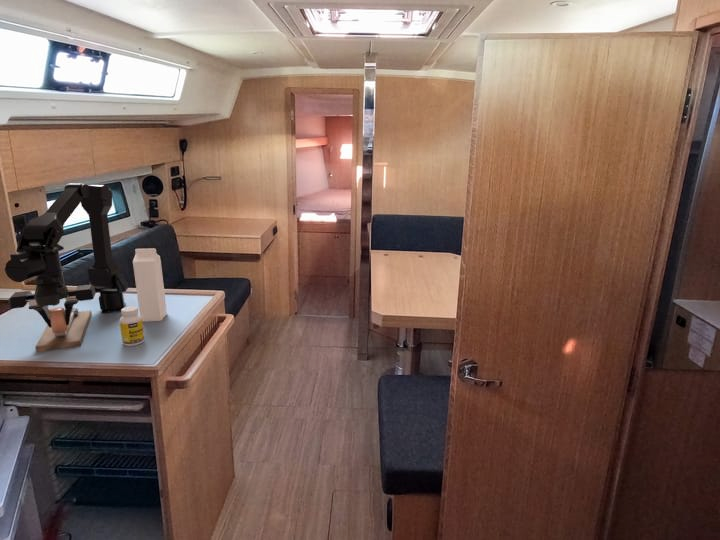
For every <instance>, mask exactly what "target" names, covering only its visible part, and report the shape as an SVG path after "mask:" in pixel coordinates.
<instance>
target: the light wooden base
mask: <svg viewBox="0 0 720 540" xmlns="http://www.w3.org/2000/svg"><path fill="white" fill-rule="evenodd" d="M92 313H93V312H92V310H90V309H89V310H83V311H78V314H77V315H75V316H74V318H73V320H72V322H71V325H70V327H69V329H68V331H67V333H66V335H64V336H56V337H55V333H53V332H52V327H51V328H50V327H49V326H48V325H47V326H46V328H45V329H44V331H43V332H42V335H41V336H40V337H39V340H38V341H37V343H36V345H35V351H36V353H39V351H40V352H45V350H47V351H52V349H54V350H59V348H61V349H66V348H67V347H68V348H72V347H73V348H74V347H75V348H76V347H80V346H82V344H83V340H84V337H85V334H86V333H87V329H88V328H89V327H88V326H89V324H90V322H91V319H90V318H92V316H93V314H92ZM91 315H92V316H91ZM68 348H67V349H68Z"/></svg>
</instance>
